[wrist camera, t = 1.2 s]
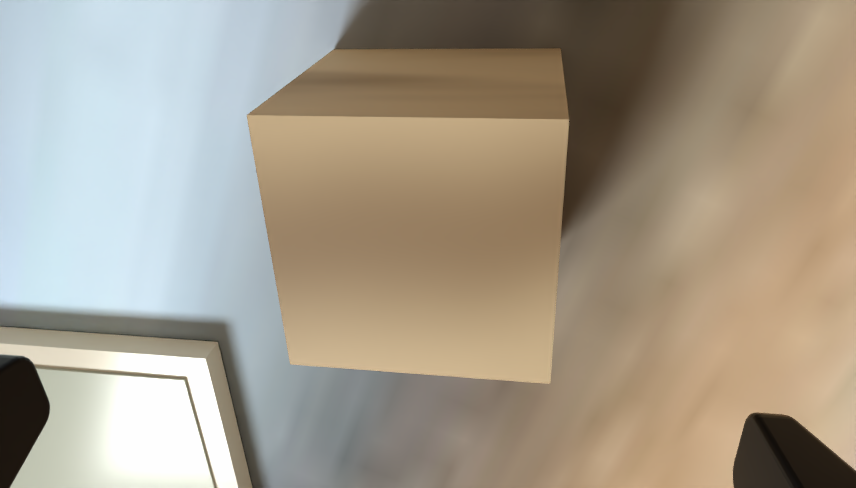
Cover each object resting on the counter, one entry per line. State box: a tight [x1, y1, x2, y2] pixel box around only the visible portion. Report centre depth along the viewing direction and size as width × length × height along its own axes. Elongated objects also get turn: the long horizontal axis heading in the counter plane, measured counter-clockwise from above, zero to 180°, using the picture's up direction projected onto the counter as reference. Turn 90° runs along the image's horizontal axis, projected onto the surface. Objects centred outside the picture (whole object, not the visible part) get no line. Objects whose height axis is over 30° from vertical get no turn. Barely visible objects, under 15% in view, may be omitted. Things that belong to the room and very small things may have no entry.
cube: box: [247, 48, 569, 384], centre depth 13 cm, size 5×5×5 cm
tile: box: [0, 327, 252, 488], centre depth 22 cm, size 10×10×1 cm
